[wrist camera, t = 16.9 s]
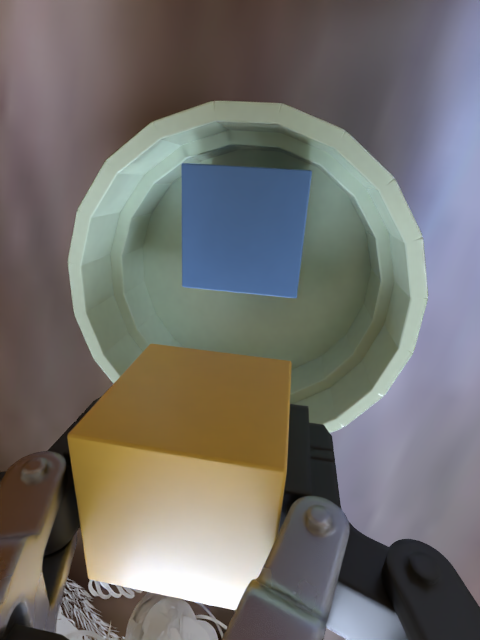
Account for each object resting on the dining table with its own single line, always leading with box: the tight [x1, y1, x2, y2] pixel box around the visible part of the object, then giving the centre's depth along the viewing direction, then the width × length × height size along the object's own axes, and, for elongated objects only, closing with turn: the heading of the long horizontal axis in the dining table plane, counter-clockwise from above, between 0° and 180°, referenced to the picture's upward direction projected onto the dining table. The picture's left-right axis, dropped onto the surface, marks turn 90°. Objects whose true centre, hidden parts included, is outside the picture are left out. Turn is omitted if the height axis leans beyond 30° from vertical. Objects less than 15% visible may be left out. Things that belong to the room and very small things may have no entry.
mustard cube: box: [67, 344, 292, 610], centre depth 10 cm, size 5×5×5 cm
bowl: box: [68, 100, 428, 433], centre depth 16 cm, size 14×14×6 cm
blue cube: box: [181, 163, 312, 298], centre depth 15 cm, size 5×5×5 cm
